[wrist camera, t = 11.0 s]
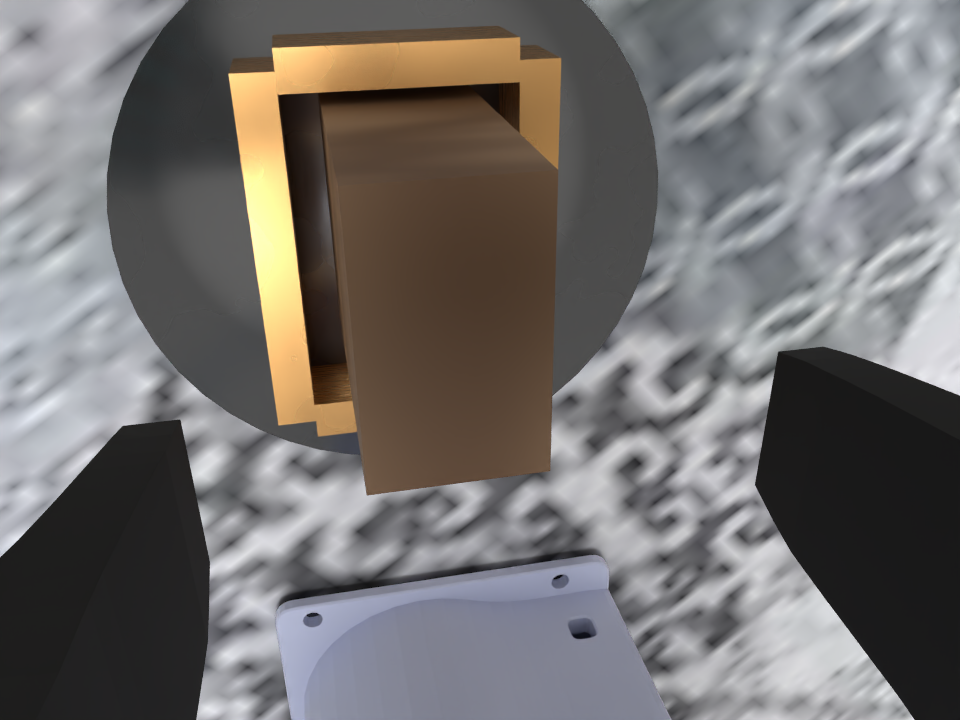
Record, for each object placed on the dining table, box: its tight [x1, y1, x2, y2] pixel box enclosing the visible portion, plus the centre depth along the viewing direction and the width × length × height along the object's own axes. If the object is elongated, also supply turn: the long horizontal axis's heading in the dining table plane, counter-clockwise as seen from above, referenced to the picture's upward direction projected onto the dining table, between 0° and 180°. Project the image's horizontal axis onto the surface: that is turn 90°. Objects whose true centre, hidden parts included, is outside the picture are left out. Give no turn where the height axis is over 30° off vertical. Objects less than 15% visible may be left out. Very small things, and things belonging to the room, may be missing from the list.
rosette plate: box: [107, 0, 658, 455], centre depth 19 cm, size 12×12×2 cm
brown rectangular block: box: [318, 85, 558, 495], centre depth 16 cm, size 3×5×7 cm, turn 0°
